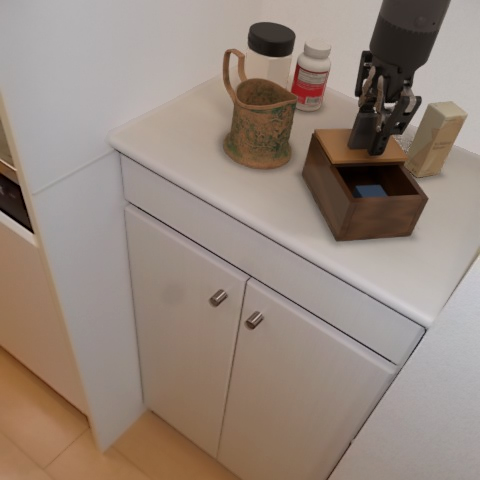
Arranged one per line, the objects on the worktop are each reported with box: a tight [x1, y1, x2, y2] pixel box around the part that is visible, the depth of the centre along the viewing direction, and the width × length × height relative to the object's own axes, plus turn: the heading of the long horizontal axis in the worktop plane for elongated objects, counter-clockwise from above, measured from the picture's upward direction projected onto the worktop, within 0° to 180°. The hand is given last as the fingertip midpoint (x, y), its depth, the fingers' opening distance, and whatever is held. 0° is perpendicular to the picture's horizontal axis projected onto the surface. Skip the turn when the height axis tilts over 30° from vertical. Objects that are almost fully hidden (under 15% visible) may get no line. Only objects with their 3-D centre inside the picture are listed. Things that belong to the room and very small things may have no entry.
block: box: [353, 185, 387, 198], centre depth 76 cm, size 4×4×4 cm
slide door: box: [313, 112, 409, 164], centre depth 75 cm, size 12×8×6 cm, turn 104°
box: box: [404, 100, 469, 178], centre depth 86 cm, size 5×4×11 cm
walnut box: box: [301, 132, 429, 242], centre depth 78 cm, size 12×16×7 cm
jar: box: [244, 21, 297, 89], centre depth 94 cm, size 9×8×12 cm
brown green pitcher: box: [222, 48, 298, 170], centre depth 84 cm, size 12×18×12 cm, turn 33°
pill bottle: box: [290, 37, 332, 112], centre depth 95 cm, size 6×6×11 cm
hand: (366, 143), depth 75 cm, fingers open, 4 cm apart
